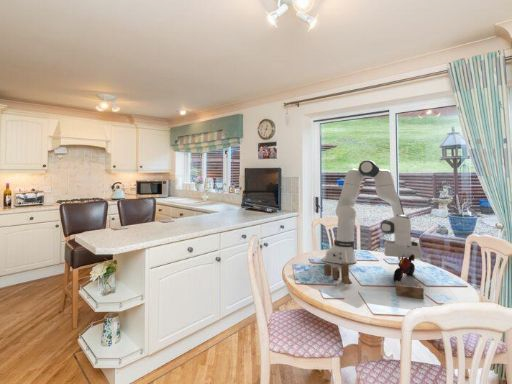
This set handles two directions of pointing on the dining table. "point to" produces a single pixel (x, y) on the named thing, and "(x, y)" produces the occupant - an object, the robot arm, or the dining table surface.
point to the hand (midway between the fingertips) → (402, 264)
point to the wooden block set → (338, 272)
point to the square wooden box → (409, 290)
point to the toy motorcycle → (404, 268)
